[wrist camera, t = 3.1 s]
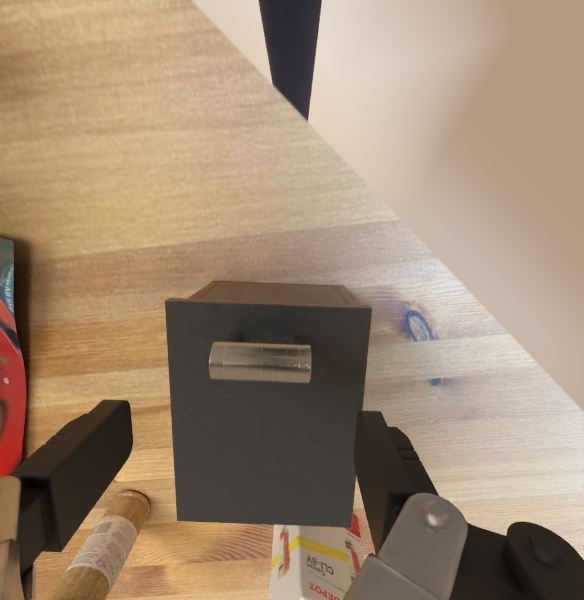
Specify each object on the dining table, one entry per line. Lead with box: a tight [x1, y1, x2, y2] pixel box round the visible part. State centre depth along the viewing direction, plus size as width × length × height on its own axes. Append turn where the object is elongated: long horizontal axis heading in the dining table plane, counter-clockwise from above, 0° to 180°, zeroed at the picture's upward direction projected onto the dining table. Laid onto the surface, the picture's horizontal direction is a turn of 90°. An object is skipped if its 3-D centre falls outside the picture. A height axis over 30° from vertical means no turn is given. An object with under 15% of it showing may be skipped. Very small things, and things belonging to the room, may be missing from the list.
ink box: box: [268, 514, 365, 600], centre depth 31 cm, size 9×5×12 cm, turn 54°
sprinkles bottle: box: [48, 491, 150, 600], centre depth 31 cm, size 5×5×14 cm
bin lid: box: [165, 298, 372, 528], centre depth 20 cm, size 16×13×5 cm
